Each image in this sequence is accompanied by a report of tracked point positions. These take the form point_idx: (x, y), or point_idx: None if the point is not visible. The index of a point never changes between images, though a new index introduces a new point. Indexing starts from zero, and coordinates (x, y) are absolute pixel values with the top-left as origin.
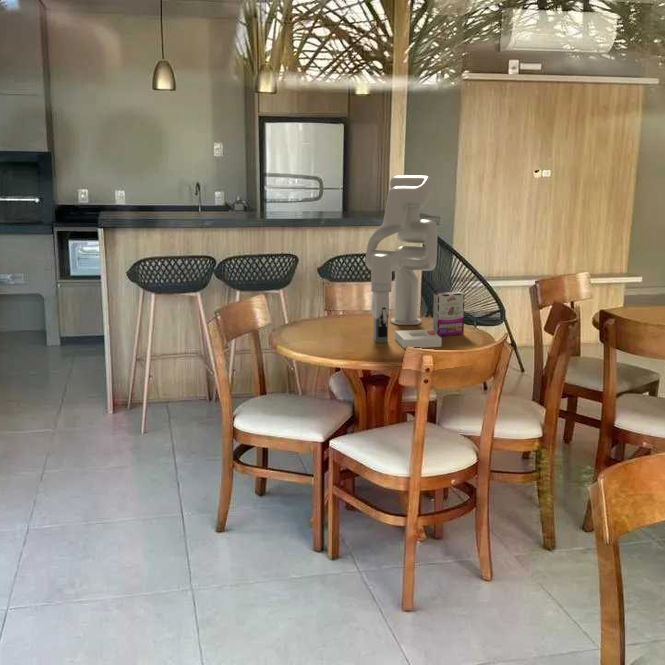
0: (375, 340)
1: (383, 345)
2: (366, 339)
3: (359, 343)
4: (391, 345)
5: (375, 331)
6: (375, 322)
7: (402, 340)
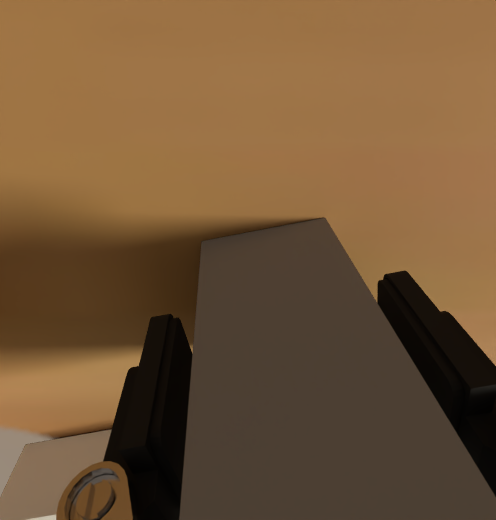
0: (223, 246)
1: (83, 311)
2: (360, 128)
3: (121, 9)
4: (102, 370)
5: (234, 316)
6: (257, 464)
7: (57, 490)
